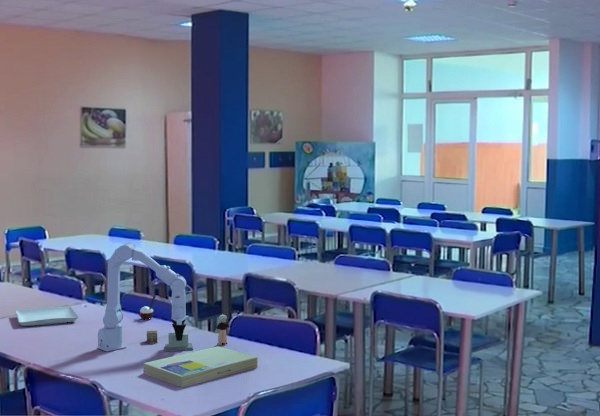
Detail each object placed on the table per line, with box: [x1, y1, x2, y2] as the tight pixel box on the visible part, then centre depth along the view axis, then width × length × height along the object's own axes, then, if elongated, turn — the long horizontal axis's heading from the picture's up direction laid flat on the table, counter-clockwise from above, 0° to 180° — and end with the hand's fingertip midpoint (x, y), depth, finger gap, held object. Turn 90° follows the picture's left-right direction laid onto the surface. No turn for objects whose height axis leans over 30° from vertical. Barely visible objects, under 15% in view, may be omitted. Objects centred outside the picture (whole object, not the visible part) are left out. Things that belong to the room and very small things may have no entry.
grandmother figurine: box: [214, 314, 231, 346], centre depth 317 cm, size 8×4×13 cm, turn 143°
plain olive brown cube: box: [146, 330, 158, 344], centre depth 320 cm, size 5×4×4 cm
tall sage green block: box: [168, 331, 189, 347], centre depth 310 cm, size 8×4×5 cm, turn 101°
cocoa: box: [138, 295, 156, 320], centre depth 364 cm, size 10×6×12 cm, turn 44°
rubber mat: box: [164, 342, 194, 352], centre depth 310 cm, size 11×8×1 cm
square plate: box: [14, 306, 80, 327], centre depth 361 cm, size 27×27×4 cm
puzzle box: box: [142, 345, 258, 388], centre depth 278 cm, size 36×5×24 cm
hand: (178, 338), depth 310 cm, fingers open, 7 cm apart
